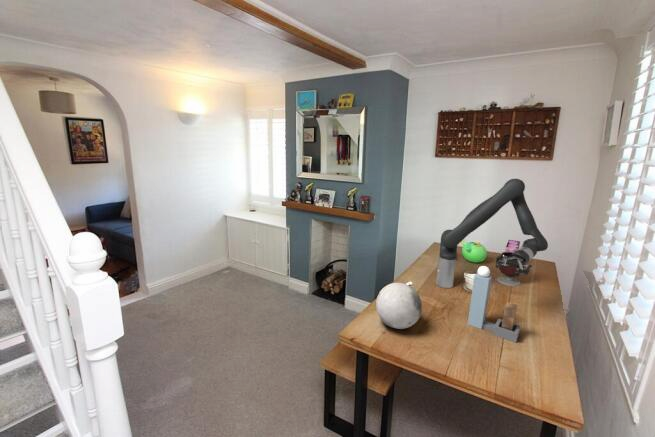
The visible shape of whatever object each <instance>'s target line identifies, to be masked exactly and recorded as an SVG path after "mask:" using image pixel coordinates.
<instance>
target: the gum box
mask: <svg viewBox="0 0 655 437" xmlns="http://www.w3.org/2000/svg"><path fill="white" fill-rule="evenodd" d="M506 243H507V244H506V245H505V249H504V252H513V253H514V252H515V251H516V250H517V249H518V248H520V247H521V241H520V240H513V239H508V241H507V242H506Z"/></svg>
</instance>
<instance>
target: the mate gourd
mask: <svg viewBox="0 0 655 437" xmlns="http://www.w3.org/2000/svg"><path fill="white" fill-rule="evenodd" d="M519 248H520V247H519ZM519 248H518V249H519ZM512 253H513V252H505V251H503V252H501V253H500V255H501V254H504V256H505V257H509V256H510V255H511V254H512ZM502 263H503V262H502ZM506 263H507V262H506ZM498 269H499V271H500V273H501V274H503V275H505V276H499V277H497V281H498V282H499V283H500V284H503V285H505V286H510V287H518V286H521V282H520V280H518V279H516V277H518V276H515V273H516V271H517V268H514V267H512V266H509V265H507V266H504V265H501V266H500V267H498ZM523 269H524V270H525V269H526V268H525V267H524V268H523ZM521 275H522V274H520V275H519V276H521ZM514 277H515V278H514Z"/></svg>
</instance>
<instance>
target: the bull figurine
mask: <svg viewBox="0 0 655 437" xmlns="http://www.w3.org/2000/svg"><path fill="white" fill-rule="evenodd" d="M406 284H407V285H409V286H410V287H412V288H414V286H415V285H414V283H413V282H412V281H407V282H406Z"/></svg>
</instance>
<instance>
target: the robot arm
mask: <svg viewBox="0 0 655 437" xmlns="http://www.w3.org/2000/svg"><path fill="white" fill-rule="evenodd" d="M525 189H526V185H525V182H524V181H523V180H522V179H520V178H511V179H509V180H507V181H506V182H505V183H504V185H503V186H502V187H501V188H500V189H499V190H498V191H497V192H496V193H495V194H493V195H492V196H490V197H489V198H487V199H485V200H484V201H482V202H481V203H479V204H478V205H477V206H475V207H474V208H473V209H471V211H470V212H469V213H468V214H467V215H466V216H465V217H464V219H463V220H462V221H461V222H460V223H459V224H458V225H457V226H456V227H455V228H453V229H445V230H444V231H443V232H442V233H441V236H440V242H439V243H440V244H439V257H438V263H437V264H438V265H437V266H438V267H437V269H436V279H435V286H438V287H440V288H442V289H443V288H444V289H451V288H453V287H454V278H455V272H456V271H455V270H456V262H457V255H458V254H457V253H458V252H457V251H458V246H459V244H461V241H462V240H463V241H464V240H465V238H466V237H467V236H469V235H470V234H471V233H472V232H474V231H476V230H477V229H479V228H480V227H481V226H482V225H484V224H486V222H487V221H489V220H490V219H491V218H492V217H494V216H495V215H496V214H497V213H498V212H499V211H500V210H501V209H502V208H503V207H504V206H505V205H507V204H508V203H509V202H510V203H511V205H512V206H513V209H514V212H515V215H516V219H517V221H518V224H519V226H520V230H521V232H522V234H523V235H525V236H532V237H533V238H528V239H526V240H524V241H523V242H522V245H521V246H520V247H519V249H517V250H516V251H515V252H514V253H512V254H511V255H510V256H509V257H505V256H504V254H501V253H500V255H498V256H496V258H495V268H497V269H499V267H500V266H501V265H504V266H507V265H509V266H512V267H514V268H517V271H516V273H515V276H517V277H519V276H521V275H522V274H523V275H526V276H527V275H528V274H529V273H530V272H531V271H532V267H533V265H532V264H529V263H530V262H531V261H532V259H533V258H534V257H535V256H536V255H537V253H538V252H543V251H544V252H545V251H547V249H548V248H549V243H548V241H547V238H545V237H544V235H543V234H542V232H541V231H540V230H539V228H538V226H537V223H536V220H535V218H534V216H533V214H532V212H531V210H530V208H529V206H528V204H527V202H526V198H525V193H524V192H525ZM502 262H503V263H502ZM506 262H507V263H506ZM524 267H525V268H524ZM523 268H524V269H523ZM520 274H521V275H520Z"/></svg>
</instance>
